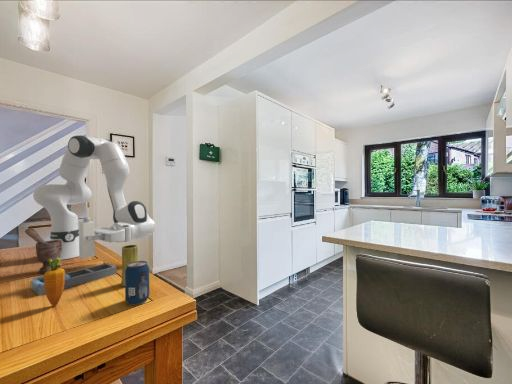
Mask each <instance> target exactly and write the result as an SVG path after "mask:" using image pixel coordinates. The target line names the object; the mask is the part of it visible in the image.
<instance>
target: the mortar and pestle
mask: <svg viewBox="0 0 512 384" xmlns="http://www.w3.org/2000/svg"><path fill="white" fill-rule="evenodd" d="M24 232H25V234H26V235H27V236H28V237H30V239H31V238H32V240H34V241H35V242H36V243H35V254H36V258H37V260H38V261H39V263H42V266H41V267H40V268H39V270H38V274H39V275H40V274H41V275H42V274H43V275H44V274H45V273H46V272H47V271H48V270H51V266H50V262H49V259H52V261H53V265H54V262H55V260H56V258H60V255H61V251H62V247H61V246H62V242H61V240H51V241H50V240H44V239H43V238H42V237H41V235H39V233H38V231H36V229H34V228H33V227H28V228H27V229H26V228H25V230H24ZM58 268H61V265H60V266H59V267H58Z"/></svg>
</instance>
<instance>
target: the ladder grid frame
mask: <svg viewBox="0 0 512 384" xmlns="http://www.w3.org/2000/svg"><path fill="white" fill-rule="evenodd" d="M117 267H118V266H117V265H113V264H110V263H108V262H106V263H105V262H104V263H102V264H97V265H93V266H88V267H84V268H82V269H77V270H72V271H68V272H65V283H64V289H63V290H65V289H68V288H71V287H76V286H78V285H82V284H86V283H88V282H89V283H90V282H93V281H95V280H99V279H103V278H106V277H110V276H113V275H117V274H118V268H117ZM30 286H31V289H30V290H31V291H32V292H34V293H35V294H37V295H38V296H39V297H40V296H42V295H46V292H45V288H44V275H43V276H37V277H34V278H32V279H31V282H30Z"/></svg>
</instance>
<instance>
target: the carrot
mask: <svg viewBox="0 0 512 384" xmlns="http://www.w3.org/2000/svg"><path fill="white" fill-rule="evenodd" d="M61 261H63V260H62V259H60V258H56V260H55V262H54V265H53V261H52V259H49V262H50V266H51V270H48V271H47V272H46V273H45V274H43V276H44V288H45V292H46V294H45V295H46V298H47V300H48V302H49V303H50V304H51V305H52V306H53V307H57V305H58V303H59V302H60V300H61V298H62V295H63V292H64V290H65V289H64V283H65V273H66V271H65V269H64V268H62V267H61V265H62V264H61V263H60V262H61ZM59 266H60V268H58V267H59Z"/></svg>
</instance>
